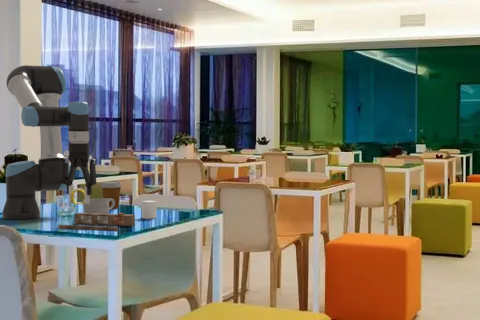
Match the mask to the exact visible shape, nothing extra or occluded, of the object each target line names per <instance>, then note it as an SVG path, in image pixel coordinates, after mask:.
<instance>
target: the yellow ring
mask: <svg viewBox="0 0 480 320" xmlns="http://www.w3.org/2000/svg"><path fill="white" fill-rule="evenodd" d="M77 192H81V193H82V194H83V196H84V198H83V200H84V202H83V201H82V202H77V201H76V200H75V194H76V193H77ZM71 198H72V201H73V203H74V204H75V205H83V204H84V203H85V191H84V188H82V187H81V188H75V189H74V191H73V193H72V197H71Z"/></svg>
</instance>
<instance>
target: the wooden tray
mask: <svg viewBox="0 0 480 320" xmlns="http://www.w3.org/2000/svg"><path fill="white" fill-rule="evenodd" d="M135 219H136V218H135V214H128V213H127V214H125V213H124V212H119V213H108V214H101V213H84V212H76V213H74V225H73V224H58V229H67V230H69V229H70V230H90V231H91V230H92V231H93V230H94V231H115V232H117V231H119V227H118V226H120V227H133V226H135V225H136V224H135Z"/></svg>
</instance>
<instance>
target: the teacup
mask: <svg viewBox="0 0 480 320" xmlns="http://www.w3.org/2000/svg"><path fill="white" fill-rule="evenodd" d="M110 201H112V206H111V207H110V208H109V202H110ZM83 202H84V199H83V200H82V203H83ZM114 206H115V201H114V199H111V198H110V199H108V198H103V197H102V198H90V203H88V204H85V203H84V204H82V207H83V208H82V210H83V213H101V214H110V211H111V210H113V209H112V208H113V207H114Z"/></svg>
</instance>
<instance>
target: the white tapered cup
mask: <svg viewBox="0 0 480 320" xmlns="http://www.w3.org/2000/svg"><path fill="white" fill-rule="evenodd" d="M140 207H141V208H140V210H141V217H142V219H147V220H148V219H151V220H152V219H157V213H158V212H157V209H158V200H155V199H154V200H153V199H150V200H149V199H147V200H141V201H140Z"/></svg>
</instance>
